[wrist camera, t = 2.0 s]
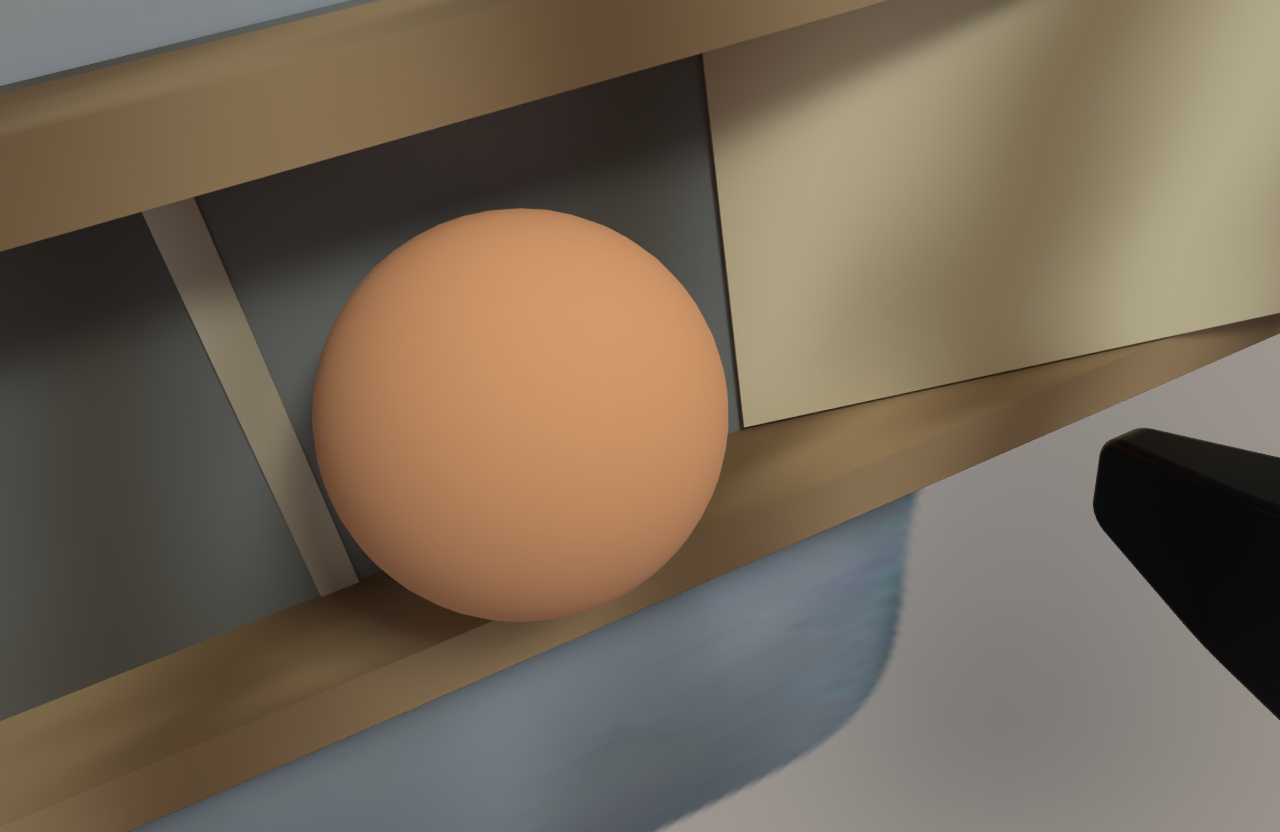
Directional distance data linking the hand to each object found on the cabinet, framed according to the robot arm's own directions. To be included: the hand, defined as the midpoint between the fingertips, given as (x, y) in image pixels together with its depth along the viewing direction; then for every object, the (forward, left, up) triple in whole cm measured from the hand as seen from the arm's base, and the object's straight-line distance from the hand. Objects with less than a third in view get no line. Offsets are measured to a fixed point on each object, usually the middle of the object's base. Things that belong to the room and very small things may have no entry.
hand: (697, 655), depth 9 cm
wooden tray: (-2, +1, -7) cm, 8 cm away
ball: (0, 0, -4) cm, 5 cm away
